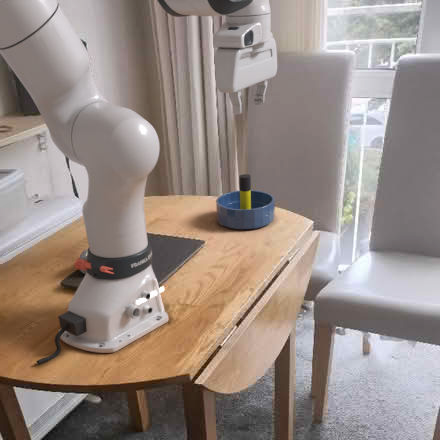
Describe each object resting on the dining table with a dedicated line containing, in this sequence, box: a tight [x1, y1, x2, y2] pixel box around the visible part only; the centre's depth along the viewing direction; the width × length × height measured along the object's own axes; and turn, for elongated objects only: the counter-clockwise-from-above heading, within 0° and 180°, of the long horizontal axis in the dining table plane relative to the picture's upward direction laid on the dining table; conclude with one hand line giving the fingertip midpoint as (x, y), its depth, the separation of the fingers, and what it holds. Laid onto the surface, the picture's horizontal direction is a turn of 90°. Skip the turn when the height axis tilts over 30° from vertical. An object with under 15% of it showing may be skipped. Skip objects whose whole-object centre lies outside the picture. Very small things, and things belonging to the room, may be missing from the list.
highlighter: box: [238, 173, 252, 209], centre depth 153 cm, size 3×3×11 cm
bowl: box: [215, 189, 276, 231], centre depth 155 cm, size 15×15×6 cm
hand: (249, 108), depth 123 cm, fingers open, 8 cm apart
